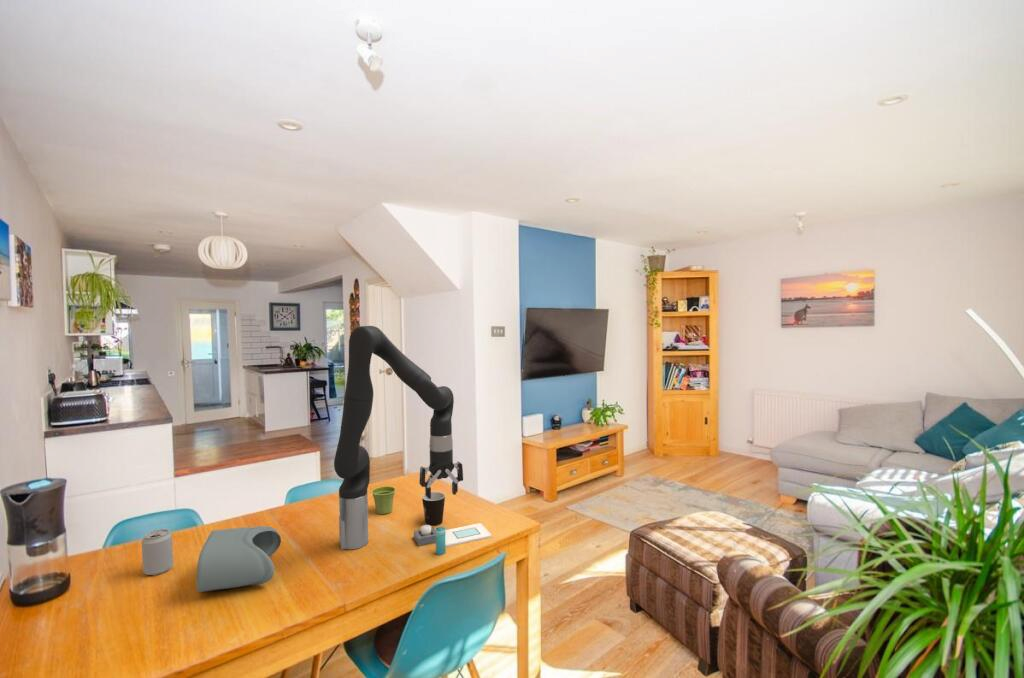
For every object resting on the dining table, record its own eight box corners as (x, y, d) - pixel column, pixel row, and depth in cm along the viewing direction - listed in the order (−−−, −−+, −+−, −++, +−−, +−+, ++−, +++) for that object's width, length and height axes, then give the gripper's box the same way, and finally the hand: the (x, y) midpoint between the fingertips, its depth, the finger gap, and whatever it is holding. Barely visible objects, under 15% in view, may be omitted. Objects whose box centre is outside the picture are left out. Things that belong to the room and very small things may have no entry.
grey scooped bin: (214, 564, 151) (215, 524, 150) (280, 556, 158) (281, 517, 157) (195, 603, 130) (196, 556, 130) (273, 591, 137) (274, 547, 137)
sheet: (445, 547, 161) (445, 545, 161) (436, 533, 171) (436, 531, 171) (491, 536, 168) (491, 535, 168) (480, 524, 178) (480, 522, 178)
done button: (422, 538, 164) (422, 530, 164) (419, 534, 167) (419, 526, 167) (432, 536, 166) (432, 528, 166) (429, 532, 169) (429, 524, 169)
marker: (437, 556, 155) (436, 531, 155) (434, 551, 158) (434, 527, 158) (447, 553, 157) (446, 529, 156) (444, 549, 160) (443, 525, 159)
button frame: (418, 546, 162) (418, 538, 162) (413, 537, 168) (413, 530, 168) (438, 541, 165) (438, 534, 165) (433, 533, 171) (433, 526, 171)
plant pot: (367, 515, 188) (366, 493, 187) (380, 505, 197) (379, 485, 196) (388, 517, 185) (387, 495, 185) (400, 508, 194) (400, 487, 194)
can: (138, 578, 143) (136, 539, 142) (149, 566, 150) (148, 528, 150) (167, 575, 145) (165, 536, 144) (177, 562, 152) (175, 525, 152)
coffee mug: (443, 527, 176) (443, 500, 176) (420, 527, 177) (419, 500, 176) (448, 514, 188) (447, 489, 187) (426, 514, 188) (426, 489, 188)
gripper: (422, 453, 151) (423, 503, 152) (465, 447, 157) (465, 496, 158) (417, 447, 158) (417, 495, 159) (458, 442, 164) (458, 488, 164)
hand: (441, 495), depth 158 cm, fingers open, 8 cm apart
